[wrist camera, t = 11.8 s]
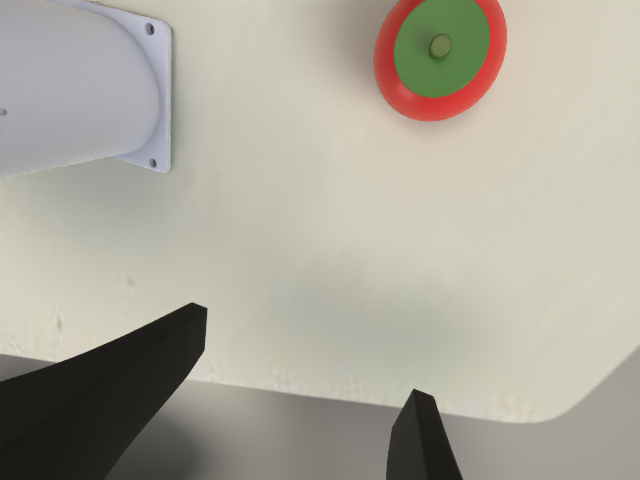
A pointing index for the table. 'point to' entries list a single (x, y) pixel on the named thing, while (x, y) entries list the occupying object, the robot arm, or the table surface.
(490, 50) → the tomato
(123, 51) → the robot arm
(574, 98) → the table surface
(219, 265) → the table surface
